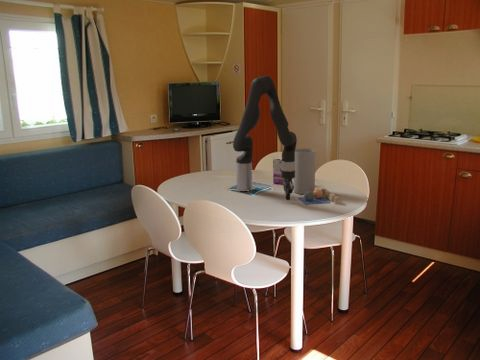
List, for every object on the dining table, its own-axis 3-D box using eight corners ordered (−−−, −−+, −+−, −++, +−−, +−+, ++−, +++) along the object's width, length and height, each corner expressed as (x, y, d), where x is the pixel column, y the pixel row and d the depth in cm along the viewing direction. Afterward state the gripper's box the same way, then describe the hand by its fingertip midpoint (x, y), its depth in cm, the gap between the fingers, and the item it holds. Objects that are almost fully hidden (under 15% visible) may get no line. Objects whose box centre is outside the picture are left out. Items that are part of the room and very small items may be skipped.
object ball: (314, 200, 260) (309, 192, 259) (322, 193, 261) (317, 186, 259) (318, 201, 255) (312, 193, 254) (326, 195, 255) (320, 187, 254)
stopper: (320, 194, 266) (321, 188, 265) (324, 194, 266) (324, 188, 265) (335, 204, 247) (335, 197, 246) (338, 203, 247) (338, 197, 246)
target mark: (297, 197, 260) (297, 197, 260) (320, 196, 263) (320, 195, 263) (306, 204, 246) (306, 204, 246) (330, 202, 249) (330, 202, 249)
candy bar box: (291, 182, 293) (291, 157, 289) (290, 184, 289) (290, 159, 285) (274, 182, 296) (274, 157, 292) (273, 184, 291) (273, 158, 287)
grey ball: (310, 200, 257) (301, 198, 255) (313, 191, 256) (304, 188, 255) (314, 203, 252) (305, 200, 250) (317, 193, 251) (308, 191, 249)
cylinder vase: (317, 190, 274) (318, 149, 268) (309, 195, 263) (310, 153, 257) (298, 188, 280) (298, 148, 274) (289, 193, 270) (290, 151, 264)
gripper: (277, 167, 252) (277, 197, 257) (285, 172, 240) (285, 203, 244) (290, 166, 254) (290, 196, 258) (298, 171, 241) (298, 202, 246)
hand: (287, 199), depth 251 cm, fingers closed
